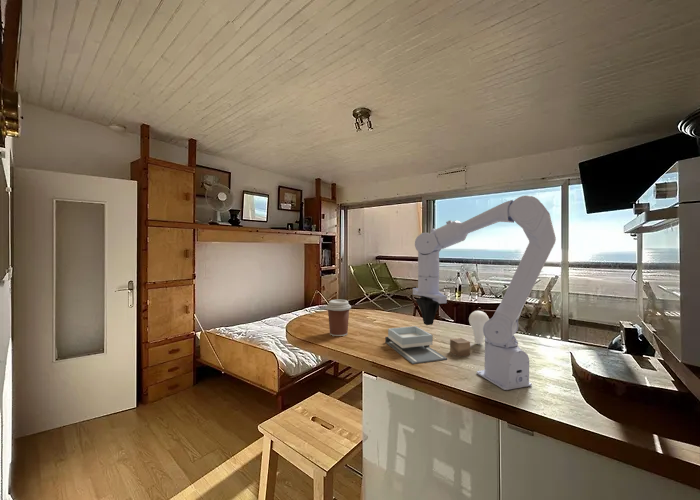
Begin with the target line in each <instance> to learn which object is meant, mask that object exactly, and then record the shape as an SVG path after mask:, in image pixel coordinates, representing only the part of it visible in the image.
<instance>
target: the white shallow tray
mask: <svg viewBox="0 0 700 500" xmlns="http://www.w3.org/2000/svg"><path fill="white" fill-rule="evenodd" d="M387 332H388V333H387V337H388V338H389V339H391V342H395V343H396V344H397V345H399V346H400V347H401V348H402V350H403V351H404V350H407V348H408V347H417V346H424V347H425V348H429V347H430V346H433V337H434V336H433V334H431V333H429V332H427V331H425V329H422V328H420V327H418V326H416V325H414V326H401V327H392V328H390V327H389V328H387Z"/></svg>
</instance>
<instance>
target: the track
mask: <svg viewBox="0 0 700 500" xmlns="http://www.w3.org/2000/svg"><path fill="white" fill-rule="evenodd" d="M384 341H385V342H384V343H385V344H387V345H388V346H389V347H390V348H392V349H393V350H394V351H395V352H396V353H398V354H399V355H400V356H401V357H403V358H404V359H405V360H407V361H408V362H409V363H410V364H412V365H416V364H423V363H424V364H426V363H431V362H432V363H433V362H437V361H438V362H439V361H444V360H445V361H447V360H448V358H447V356H445V355H443V354H441V353H440V352H438V351H436V350H435V349H433V348H432V347H430V346H429V348H425V347H424V346H417V347H408V348H407V350H404V351H403V350H402V348H401V347H400V346H399V345H397V344H396V343H395V342H391V339H389V338H388V336H385V338H384Z"/></svg>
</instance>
